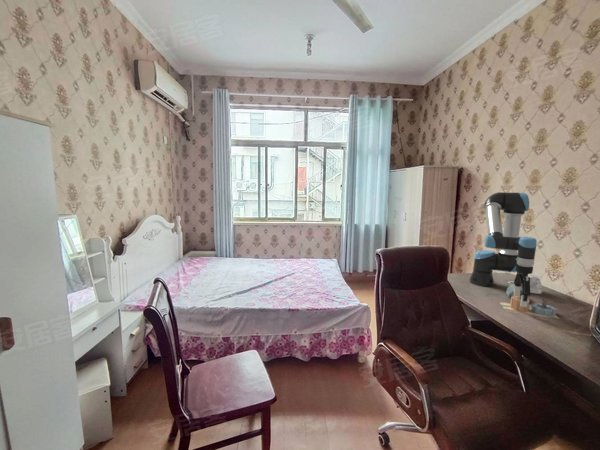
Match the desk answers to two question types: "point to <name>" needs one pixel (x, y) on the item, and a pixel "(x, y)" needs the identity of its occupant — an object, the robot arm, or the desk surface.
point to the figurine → (535, 285)
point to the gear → (543, 309)
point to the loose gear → (518, 304)
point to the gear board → (530, 312)
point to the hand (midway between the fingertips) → (519, 301)
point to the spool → (512, 291)
